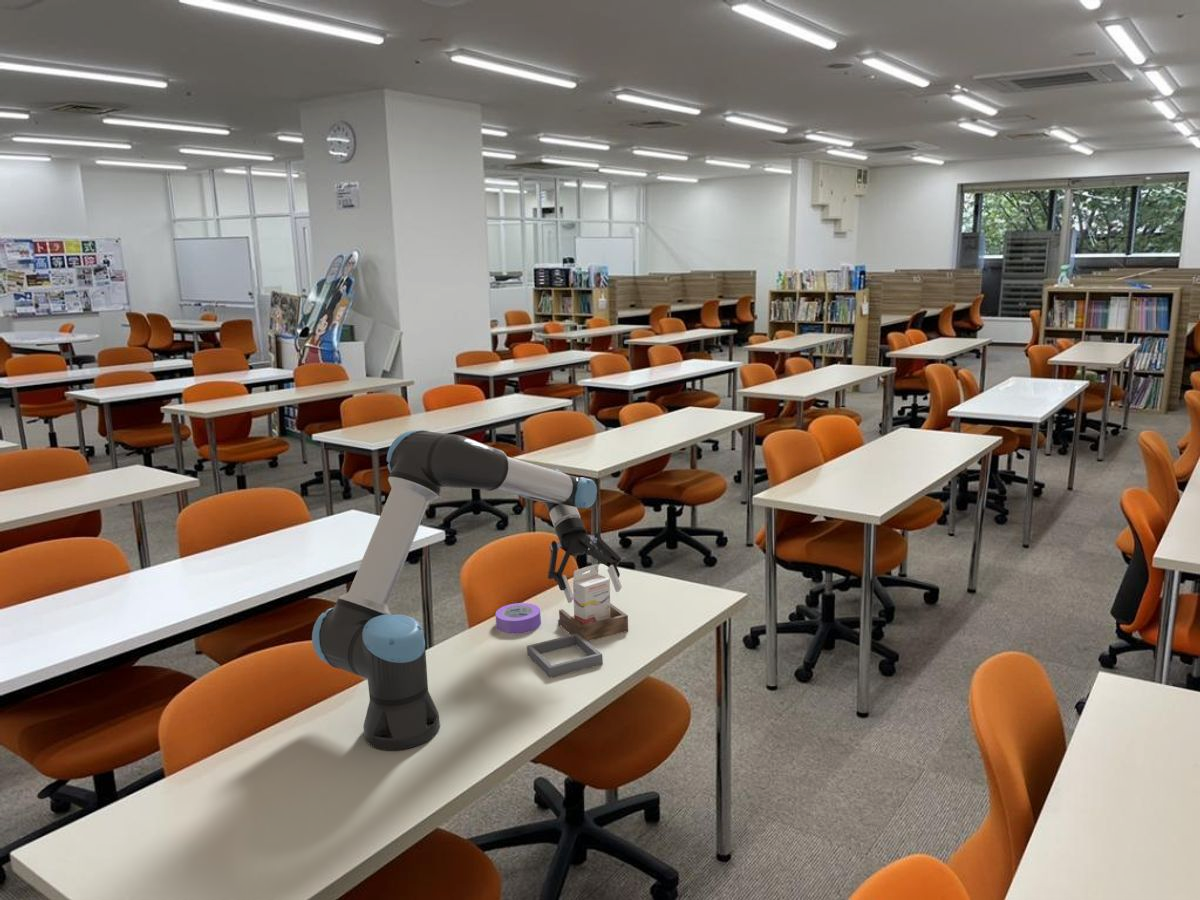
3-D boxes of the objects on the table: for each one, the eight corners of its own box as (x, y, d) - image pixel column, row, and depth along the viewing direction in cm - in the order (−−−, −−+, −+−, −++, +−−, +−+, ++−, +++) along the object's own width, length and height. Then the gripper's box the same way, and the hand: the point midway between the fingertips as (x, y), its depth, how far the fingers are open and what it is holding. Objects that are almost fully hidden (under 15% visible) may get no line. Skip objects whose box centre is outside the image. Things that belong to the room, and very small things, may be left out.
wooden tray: (580, 643, 214) (579, 627, 213) (558, 623, 226) (557, 608, 225) (628, 631, 220) (627, 615, 219) (604, 612, 232) (603, 598, 231)
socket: (550, 678, 197) (549, 668, 196) (527, 655, 209) (526, 645, 208) (602, 664, 203) (602, 654, 202) (577, 642, 214) (577, 633, 214)
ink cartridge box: (585, 630, 218) (583, 575, 215) (573, 624, 222) (571, 570, 219) (611, 621, 224) (610, 567, 220) (599, 615, 227) (597, 562, 224)
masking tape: (488, 631, 223) (487, 617, 222) (507, 614, 234) (506, 600, 233) (530, 636, 220) (529, 622, 219) (547, 618, 230) (547, 604, 230)
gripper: (605, 522, 237) (633, 591, 227) (520, 538, 226) (546, 611, 216) (613, 508, 231) (643, 578, 221) (527, 524, 220) (554, 598, 211)
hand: (595, 595), depth 219 cm, fingers open, 13 cm apart
